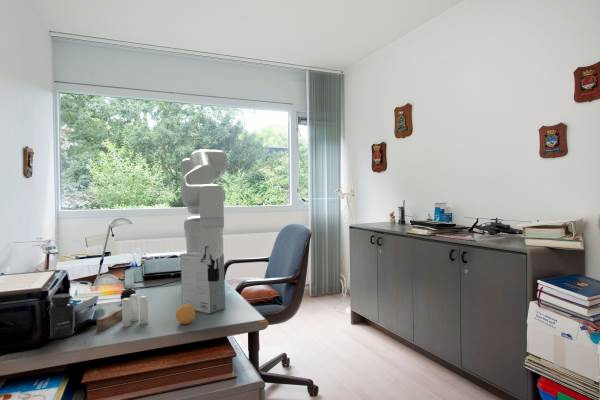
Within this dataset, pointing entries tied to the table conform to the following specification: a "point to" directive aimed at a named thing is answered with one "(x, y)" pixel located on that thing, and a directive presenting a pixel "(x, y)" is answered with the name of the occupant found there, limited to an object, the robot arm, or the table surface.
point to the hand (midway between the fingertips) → (213, 280)
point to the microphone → (127, 293)
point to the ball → (185, 314)
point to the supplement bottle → (61, 316)
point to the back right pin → (134, 307)
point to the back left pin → (126, 312)
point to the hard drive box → (201, 284)
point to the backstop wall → (109, 319)
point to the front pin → (143, 309)
